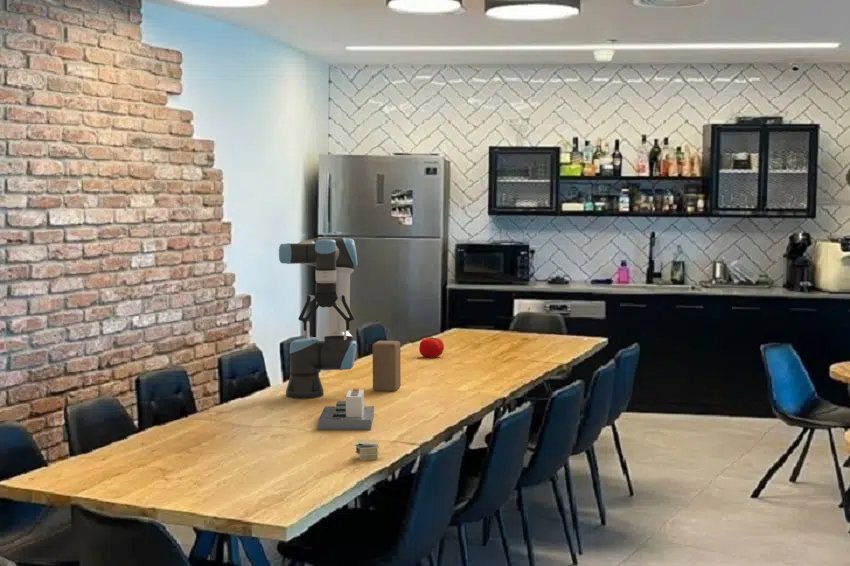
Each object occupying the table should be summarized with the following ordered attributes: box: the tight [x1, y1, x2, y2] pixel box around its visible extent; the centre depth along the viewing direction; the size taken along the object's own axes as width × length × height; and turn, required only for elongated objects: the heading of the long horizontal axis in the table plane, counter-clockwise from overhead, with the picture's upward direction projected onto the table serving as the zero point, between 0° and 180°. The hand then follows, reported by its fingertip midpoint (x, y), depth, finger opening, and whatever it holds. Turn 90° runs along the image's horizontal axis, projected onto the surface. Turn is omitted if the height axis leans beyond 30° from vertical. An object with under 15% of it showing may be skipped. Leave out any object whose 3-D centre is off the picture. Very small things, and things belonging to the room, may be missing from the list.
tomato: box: [418, 337, 445, 358], centre depth 525 cm, size 11×13×10 cm
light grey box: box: [345, 387, 365, 417], centre depth 370 cm, size 6×14×11 cm, turn 0°
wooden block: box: [372, 340, 402, 392], centre depth 435 cm, size 10×10×20 cm
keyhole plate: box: [317, 405, 375, 431], centre depth 370 cm, size 18×24×4 cm
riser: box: [335, 400, 346, 406], centre depth 391 cm, size 5×6×3 cm
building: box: [354, 439, 380, 461], centre depth 319 cm, size 10×9×6 cm
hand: (326, 339), depth 382 cm, fingers open, 13 cm apart
